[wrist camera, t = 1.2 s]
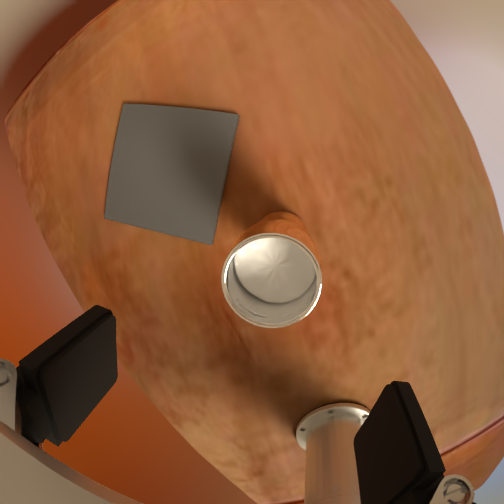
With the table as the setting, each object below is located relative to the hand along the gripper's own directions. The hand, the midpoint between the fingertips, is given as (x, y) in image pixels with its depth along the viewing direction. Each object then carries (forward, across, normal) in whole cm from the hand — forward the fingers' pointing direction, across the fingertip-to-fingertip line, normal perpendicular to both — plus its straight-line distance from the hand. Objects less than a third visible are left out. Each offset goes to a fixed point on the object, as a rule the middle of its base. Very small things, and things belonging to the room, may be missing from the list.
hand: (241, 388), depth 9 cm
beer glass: (+26, 0, 0) cm, 26 cm away
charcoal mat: (+26, +15, -5) cm, 30 cm away
